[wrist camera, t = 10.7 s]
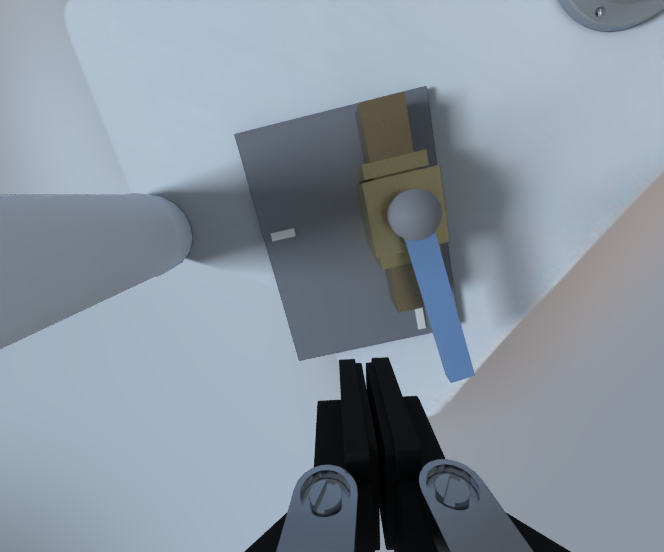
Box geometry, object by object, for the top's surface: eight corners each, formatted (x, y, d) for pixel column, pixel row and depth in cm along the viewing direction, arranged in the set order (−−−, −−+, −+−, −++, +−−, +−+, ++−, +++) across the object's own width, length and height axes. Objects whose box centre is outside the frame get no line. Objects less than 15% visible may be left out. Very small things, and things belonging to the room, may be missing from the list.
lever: (381, 199, 23) (384, 199, 22) (428, 181, 23) (434, 181, 21) (436, 377, 27) (442, 387, 25) (477, 364, 26) (485, 373, 25)
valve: (403, 106, 29) (432, 72, 21) (431, 285, 34) (463, 314, 26) (341, 121, 30) (345, 94, 21) (377, 297, 34) (392, 329, 26)
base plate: (423, 89, 29) (427, 85, 28) (455, 323, 35) (459, 327, 34) (237, 136, 30) (233, 133, 29) (299, 356, 36) (298, 361, 35)
